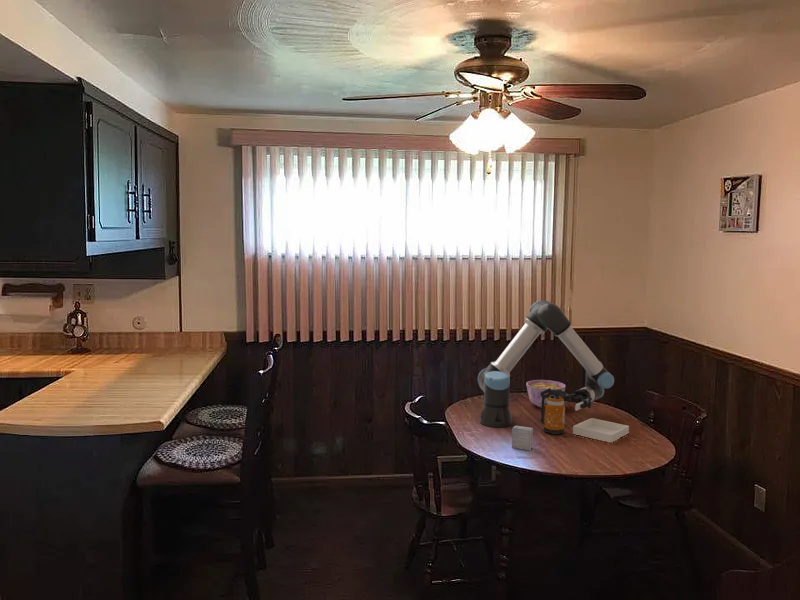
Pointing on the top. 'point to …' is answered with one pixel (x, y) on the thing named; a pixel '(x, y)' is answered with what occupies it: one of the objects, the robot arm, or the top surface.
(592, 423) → the tray
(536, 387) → the bowl of food
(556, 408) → the canister
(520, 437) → the medicine box
